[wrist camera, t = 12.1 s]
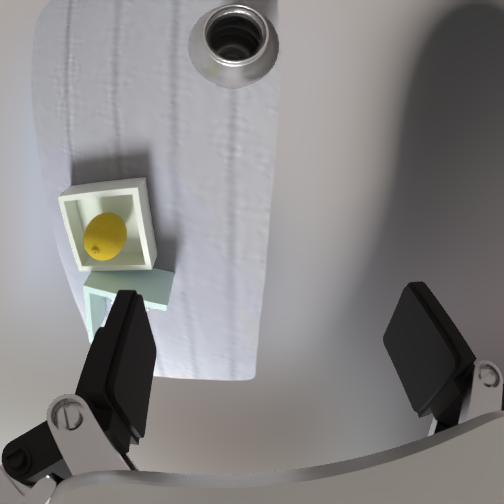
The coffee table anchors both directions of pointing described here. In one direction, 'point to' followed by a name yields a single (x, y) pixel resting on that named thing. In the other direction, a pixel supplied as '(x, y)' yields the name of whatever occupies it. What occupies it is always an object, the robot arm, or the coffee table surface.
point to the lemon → (105, 236)
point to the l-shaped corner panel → (110, 282)
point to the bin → (122, 204)
